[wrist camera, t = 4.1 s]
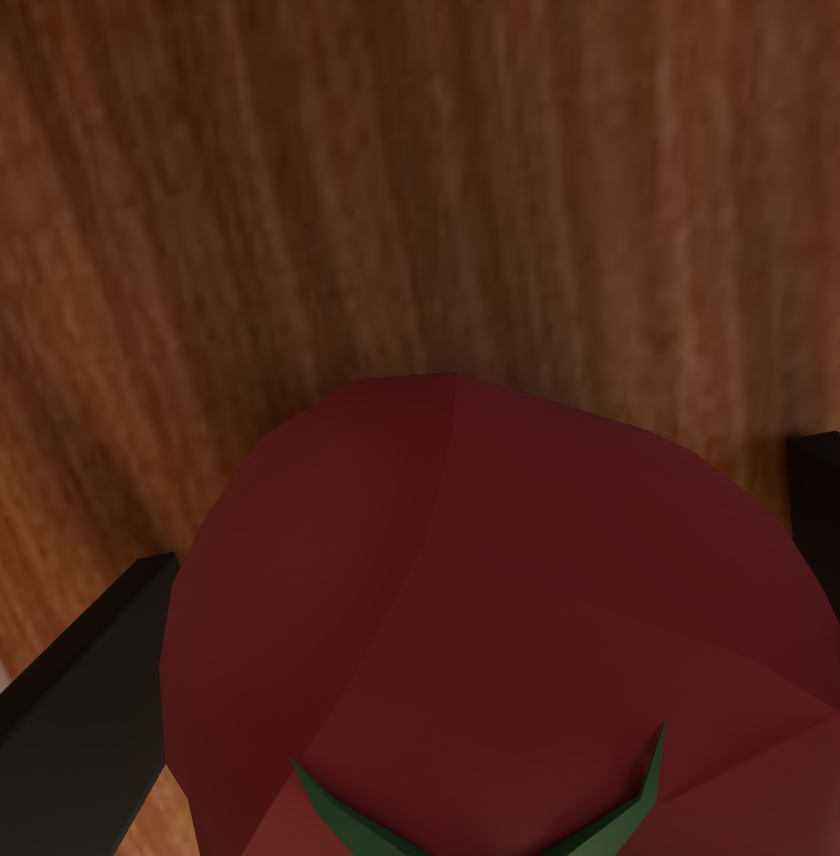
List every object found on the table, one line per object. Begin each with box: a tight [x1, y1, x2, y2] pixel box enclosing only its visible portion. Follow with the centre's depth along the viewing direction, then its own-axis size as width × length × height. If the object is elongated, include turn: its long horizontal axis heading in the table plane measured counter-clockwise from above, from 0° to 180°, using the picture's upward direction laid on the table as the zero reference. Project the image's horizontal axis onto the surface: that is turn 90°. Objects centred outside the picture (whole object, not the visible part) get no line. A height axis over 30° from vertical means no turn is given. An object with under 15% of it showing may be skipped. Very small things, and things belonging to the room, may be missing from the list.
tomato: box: [159, 372, 840, 856], centre depth 8 cm, size 8×8×7 cm
